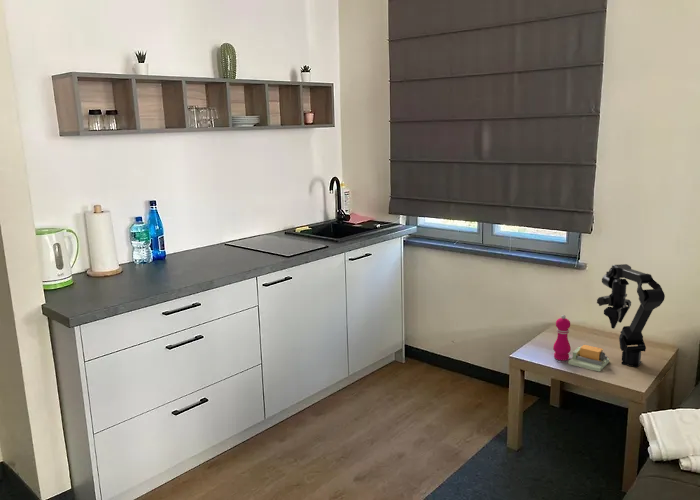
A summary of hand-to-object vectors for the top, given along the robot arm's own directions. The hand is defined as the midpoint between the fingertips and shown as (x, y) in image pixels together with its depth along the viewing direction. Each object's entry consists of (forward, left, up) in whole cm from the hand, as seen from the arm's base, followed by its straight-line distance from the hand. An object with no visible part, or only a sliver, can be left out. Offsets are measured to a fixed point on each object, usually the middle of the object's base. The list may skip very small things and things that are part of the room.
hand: (616, 325), depth 261 cm
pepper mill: (+16, +21, -12) cm, 29 cm away
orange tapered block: (+4, +19, -10) cm, 22 cm away
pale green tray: (+5, +20, -12) cm, 24 cm away
